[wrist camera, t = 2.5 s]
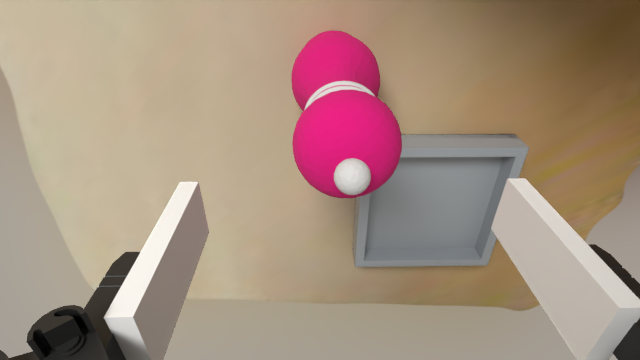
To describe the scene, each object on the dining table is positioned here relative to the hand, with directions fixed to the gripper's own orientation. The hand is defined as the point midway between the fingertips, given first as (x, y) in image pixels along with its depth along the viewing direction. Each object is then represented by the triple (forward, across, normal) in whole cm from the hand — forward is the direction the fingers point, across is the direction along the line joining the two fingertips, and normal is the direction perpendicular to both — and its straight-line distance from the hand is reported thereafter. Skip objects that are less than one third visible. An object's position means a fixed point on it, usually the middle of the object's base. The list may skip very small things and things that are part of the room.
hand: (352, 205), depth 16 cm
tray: (+21, +11, -15) cm, 28 cm away
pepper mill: (+21, 0, 0) cm, 21 cm away
